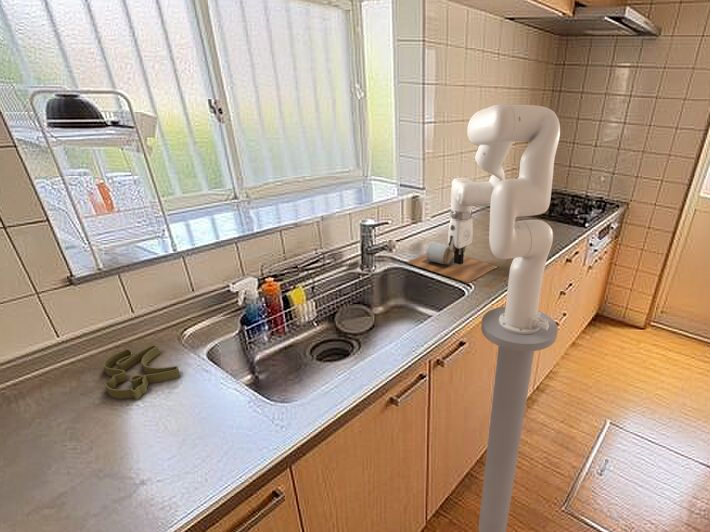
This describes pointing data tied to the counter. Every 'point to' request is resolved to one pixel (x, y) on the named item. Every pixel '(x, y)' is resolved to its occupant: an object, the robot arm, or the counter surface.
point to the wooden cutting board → (456, 268)
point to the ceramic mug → (439, 253)
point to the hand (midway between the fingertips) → (458, 263)
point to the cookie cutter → (138, 381)
